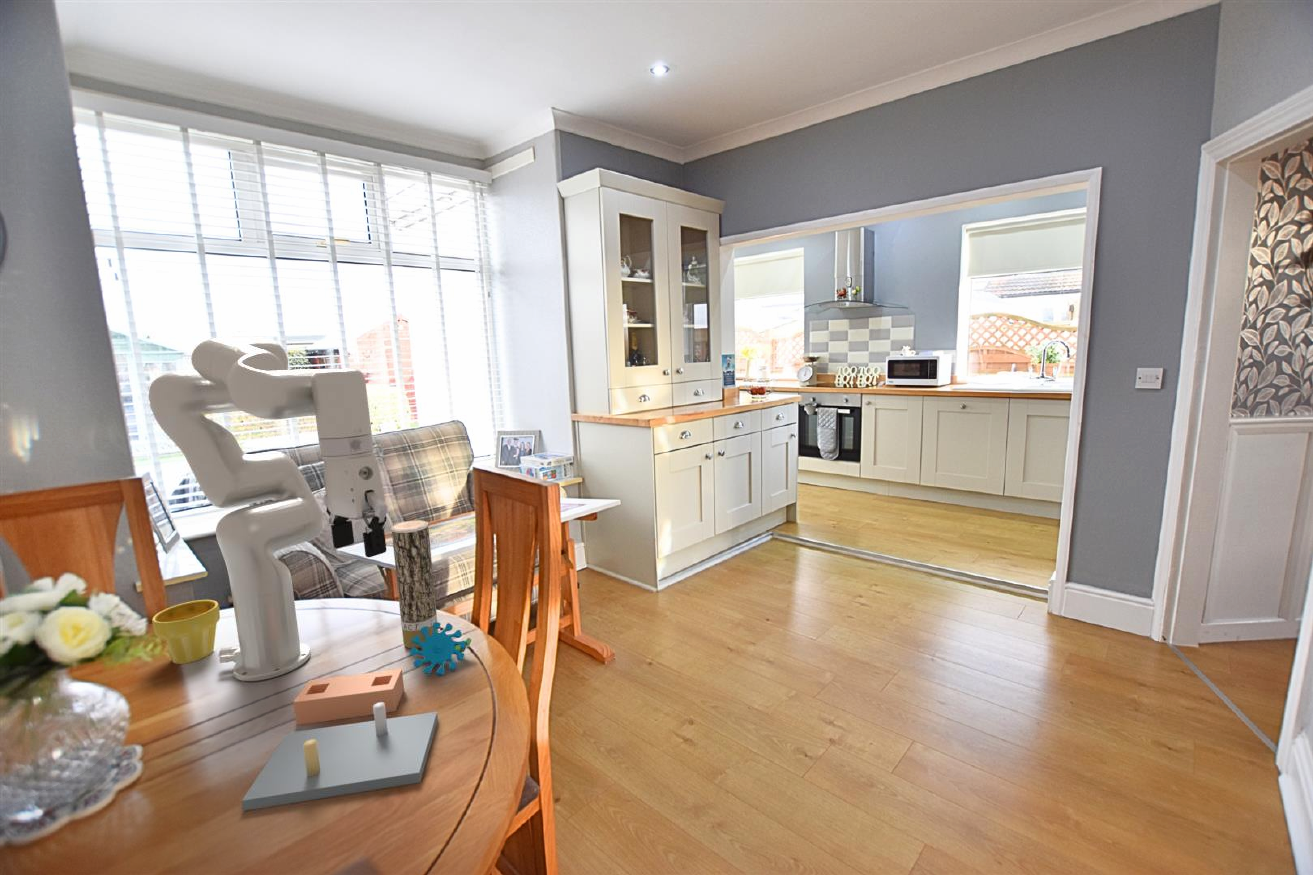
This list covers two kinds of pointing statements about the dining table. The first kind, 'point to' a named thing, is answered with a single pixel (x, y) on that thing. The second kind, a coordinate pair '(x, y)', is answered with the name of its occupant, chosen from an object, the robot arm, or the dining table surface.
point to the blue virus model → (439, 648)
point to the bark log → (414, 579)
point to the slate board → (345, 760)
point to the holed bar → (348, 696)
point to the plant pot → (188, 629)
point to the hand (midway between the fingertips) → (359, 550)
